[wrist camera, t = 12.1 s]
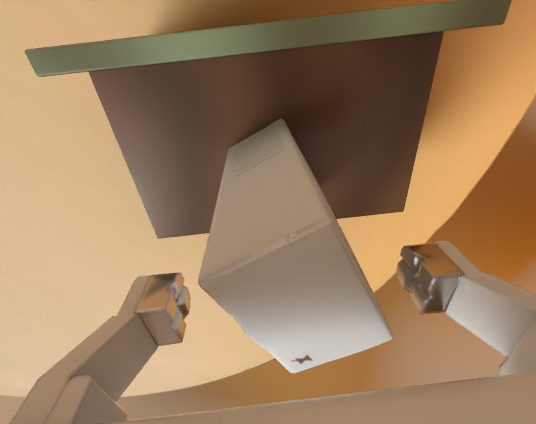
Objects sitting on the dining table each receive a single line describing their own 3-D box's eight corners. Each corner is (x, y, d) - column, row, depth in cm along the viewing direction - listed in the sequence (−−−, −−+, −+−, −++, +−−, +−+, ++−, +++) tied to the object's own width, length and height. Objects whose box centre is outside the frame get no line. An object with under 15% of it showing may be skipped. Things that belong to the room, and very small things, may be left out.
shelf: (182, 188, 28) (139, 275, 17) (139, 50, 21) (22, 49, 10) (362, 168, 28) (433, 243, 17) (378, 22, 21) (514, -7, 10)
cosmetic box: (320, 187, 19) (399, 343, 9) (270, 212, 20) (289, 379, 10) (282, 112, 16) (336, 219, 6) (225, 146, 17) (189, 288, 7)
